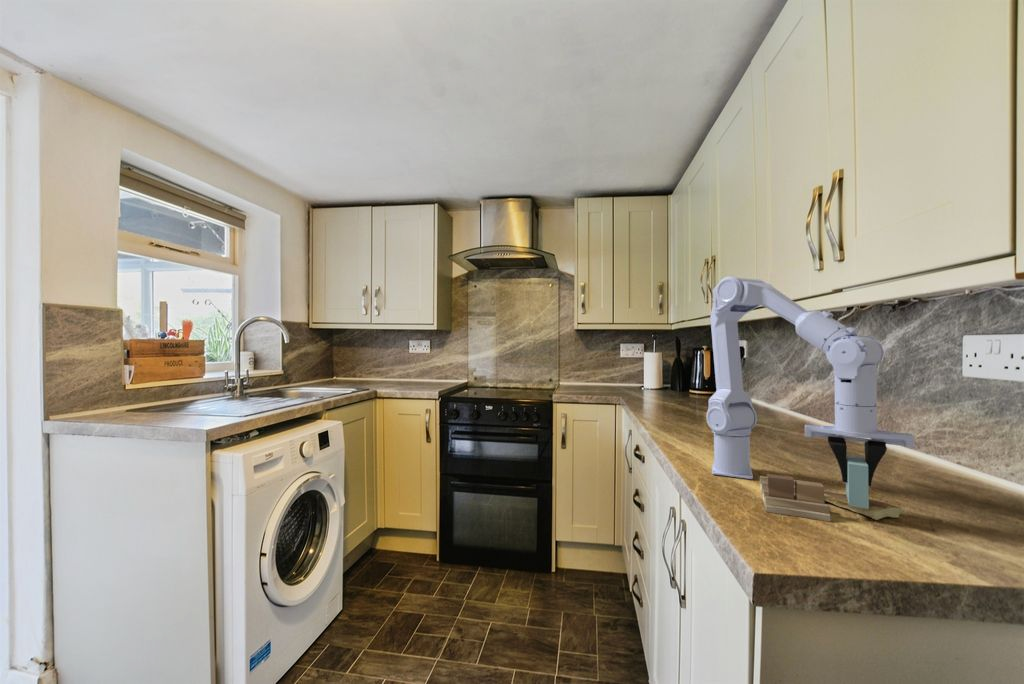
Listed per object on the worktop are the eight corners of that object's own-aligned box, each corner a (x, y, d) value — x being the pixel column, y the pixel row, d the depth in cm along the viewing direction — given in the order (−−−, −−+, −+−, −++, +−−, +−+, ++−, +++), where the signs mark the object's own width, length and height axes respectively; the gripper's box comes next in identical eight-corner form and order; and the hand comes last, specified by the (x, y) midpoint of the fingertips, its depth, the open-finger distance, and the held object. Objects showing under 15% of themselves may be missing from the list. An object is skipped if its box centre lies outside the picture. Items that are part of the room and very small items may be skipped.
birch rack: (759, 485, 85) (759, 475, 85) (813, 492, 81) (813, 481, 81) (766, 511, 72) (766, 499, 72) (830, 521, 68) (830, 508, 68)
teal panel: (849, 505, 69) (848, 463, 69) (846, 493, 75) (845, 454, 75) (868, 509, 68) (868, 466, 68) (864, 496, 73) (863, 456, 74)
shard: (810, 497, 78) (810, 487, 78) (840, 495, 80) (840, 486, 80) (873, 520, 68) (874, 509, 68) (906, 517, 70) (907, 506, 70)
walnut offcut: (767, 498, 75) (767, 474, 75) (792, 502, 73) (792, 477, 73) (768, 502, 73) (768, 477, 73) (794, 506, 72) (793, 480, 72)
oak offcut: (795, 502, 73) (794, 480, 73) (821, 506, 71) (821, 483, 71) (796, 506, 71) (796, 483, 71) (824, 510, 70) (823, 486, 70)
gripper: (907, 405, 71) (908, 484, 71) (804, 399, 80) (805, 469, 79) (916, 410, 65) (917, 496, 65) (804, 403, 74) (805, 479, 74)
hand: (856, 482), depth 72 cm, fingers closed on teal panel, 2 cm apart
